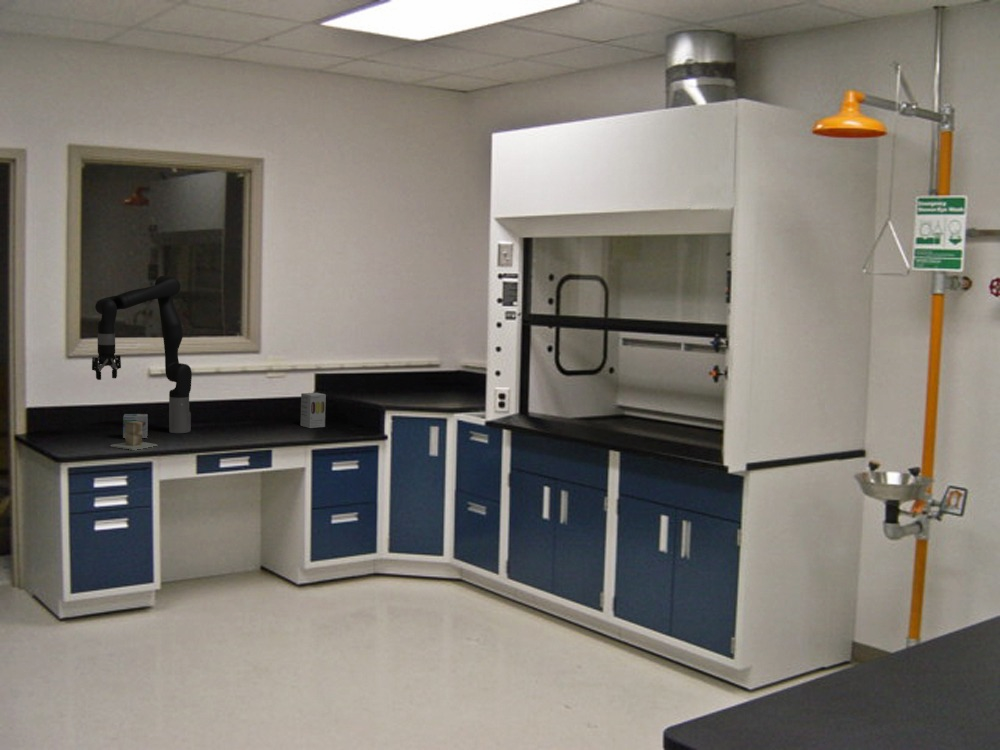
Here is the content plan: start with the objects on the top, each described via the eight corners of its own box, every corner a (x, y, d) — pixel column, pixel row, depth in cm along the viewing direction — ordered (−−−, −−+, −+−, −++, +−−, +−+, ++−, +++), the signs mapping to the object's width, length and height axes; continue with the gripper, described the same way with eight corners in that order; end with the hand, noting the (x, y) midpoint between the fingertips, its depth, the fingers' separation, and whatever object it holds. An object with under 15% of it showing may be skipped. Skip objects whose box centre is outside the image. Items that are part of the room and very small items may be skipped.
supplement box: (309, 428, 543) (310, 395, 541) (299, 425, 550) (300, 393, 548) (325, 426, 550) (326, 394, 548) (315, 424, 557) (316, 392, 555)
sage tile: (135, 442, 487) (135, 440, 487) (157, 446, 480) (157, 444, 480) (110, 447, 475) (110, 444, 475) (132, 451, 468) (132, 448, 468)
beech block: (134, 443, 481) (134, 421, 480) (142, 444, 479) (142, 422, 478) (125, 444, 477) (125, 422, 476) (133, 446, 474) (133, 423, 473)
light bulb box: (122, 439, 495) (122, 416, 494) (123, 436, 502) (123, 413, 500) (147, 439, 498) (147, 415, 497) (147, 436, 505) (147, 413, 503)
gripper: (99, 344, 479) (99, 381, 481) (124, 343, 491) (124, 378, 493) (87, 343, 483) (88, 379, 485) (113, 341, 495) (113, 377, 497)
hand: (106, 379), depth 489 cm, fingers open, 8 cm apart
